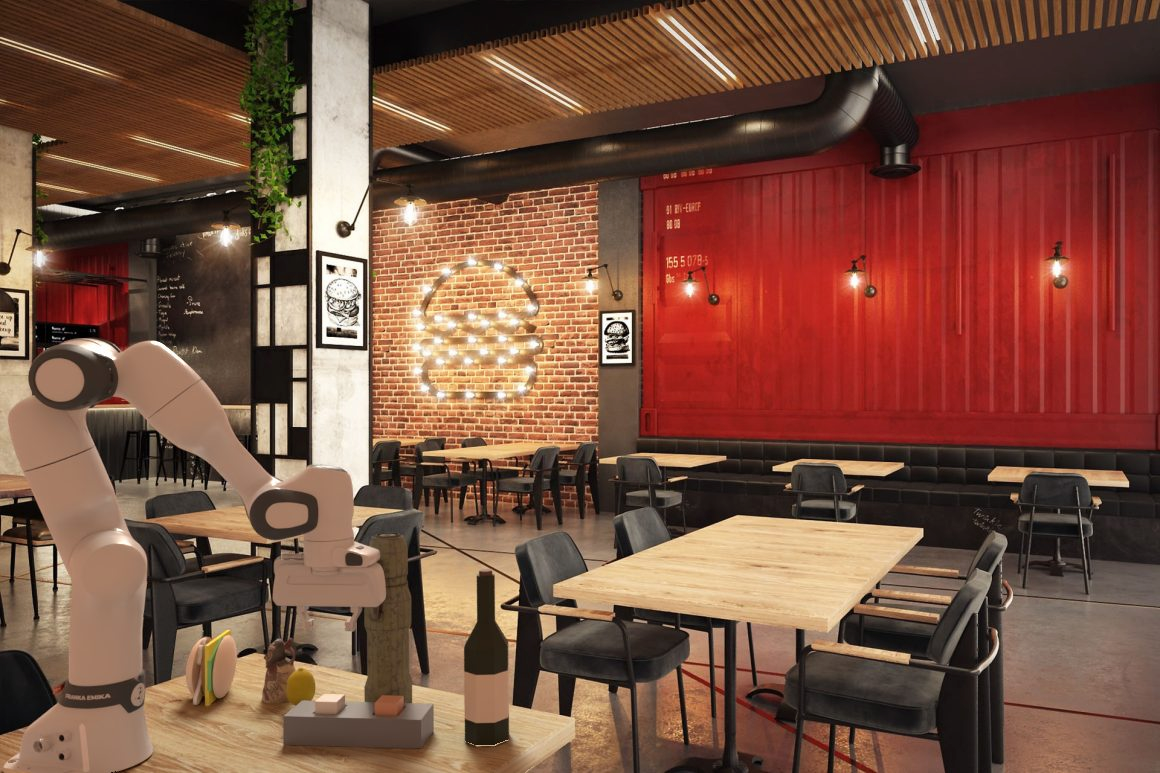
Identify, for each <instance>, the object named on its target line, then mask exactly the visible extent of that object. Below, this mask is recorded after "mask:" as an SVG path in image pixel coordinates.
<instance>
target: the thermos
mask: <svg viewBox="0 0 1160 773" xmlns="http://www.w3.org/2000/svg"><path fill="white" fill-rule="evenodd" d="M368 546H369V547H372V548H375V549H378V550H379V551H380V559H379V560H378V561H377V563H378V564H380V565H381V567H382V568H383V571H384V576H385V585H386V598H385V600H384V601H383V603H382V604H380V605H379V606H377V607H363V608H364V610H363V611H364V615H363V616H364V628H365V631H366V644H367V645H366V650H367V651H366V655H367V656H366V659H367V660H366V661H367V662H366V665H367V666H366V669H367V670H366V671H367V672H366V675H367V676H366V677H367V678H366V682H365V684H364V686H363V687H364V694H363V695H364V702H376V701H377V700H378V699H379V698H380V697H381V696H382V695H390V696H404V703H413V680H412V677H411V674H410V628H411V626H412V595H411V592H410V589H409V580H408V574H409V568H408V567H409V560H408V559H409V558H408V554H409V550H408V549H409V548H408V544H407V542H406V539H405V536H404V535H403V534H400V533H399V532H380V533H376V534H375V535H372V536H371V539H370V541H369V544H368Z"/></svg>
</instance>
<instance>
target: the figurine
mask: <svg viewBox="0 0 1160 773" xmlns="http://www.w3.org/2000/svg"><path fill="white" fill-rule="evenodd" d="M294 641H295V640H294V639H293V638H292V637H289V638H288V640H287V641H284V640H283V639H282V638H277V639H275V640H274V641H273V642H272V643H271V644H270V645H269V646H268V648H267V652H266V654H265V655H264V657H263V660H264V661H265V669H266V673H265V677H264V685H263V689H262V692H261V693H262V695H261V701H263V702H264V703H266V704H282V703H287V702H289V700H288V698H287V695H286V686H287V681H288V678H289V677H290V675H291V674H292V673H293V672H295V671H296V667H295V664H294V663H295V660H296V653H295V649H294V648H293V647H292V646H291V645H292V644H294ZM287 654H290V655H291V659H290V658H288V657H287Z"/></svg>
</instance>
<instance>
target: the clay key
mask: <svg viewBox="0 0 1160 773" xmlns="http://www.w3.org/2000/svg"><path fill="white" fill-rule="evenodd" d="M403 710H404V696H390V695H382V696H381V697H380V698H379V699H378V700H377V701H376V702H375V715H386V716H399V714H400V713H401V712H402V711H403Z"/></svg>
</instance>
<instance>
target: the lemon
mask: <svg viewBox="0 0 1160 773" xmlns="http://www.w3.org/2000/svg"><path fill="white" fill-rule="evenodd" d="M295 670H296V669H295ZM315 694H316V681H315V678H314V675H313V674H312V672H310V671H309V670H307V669H304V667H299V668H298V669H297V670H296V671H295V672H293V673H292V674H291V675H290V677H289V678H288V681H287V686H286V695H287V698H288V700H289V701H288V702H289V703H290V704H291V705H293V706H294V707H295V706H296V705H297V704H299V703H300V702H301V701H302V700H305V701H313V699H314V697H315Z"/></svg>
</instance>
